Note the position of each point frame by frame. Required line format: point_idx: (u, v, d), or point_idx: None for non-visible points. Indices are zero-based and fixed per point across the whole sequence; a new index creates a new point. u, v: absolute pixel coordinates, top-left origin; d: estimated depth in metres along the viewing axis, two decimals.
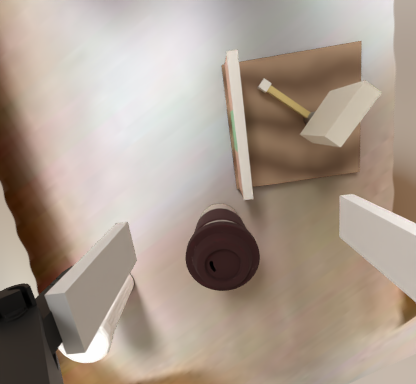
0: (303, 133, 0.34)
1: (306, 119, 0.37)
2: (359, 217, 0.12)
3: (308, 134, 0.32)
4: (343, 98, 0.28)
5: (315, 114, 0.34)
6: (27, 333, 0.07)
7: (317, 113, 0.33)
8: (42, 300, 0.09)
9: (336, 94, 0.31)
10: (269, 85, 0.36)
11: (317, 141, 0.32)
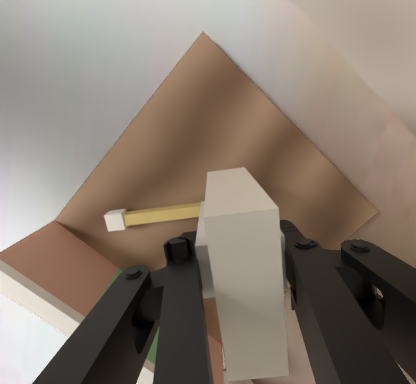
0: None
1: None
2: None
3: None
4: None
5: None
6: (188, 277, 0.08)
7: None
8: None
9: None
10: (120, 218, 0.19)
11: None
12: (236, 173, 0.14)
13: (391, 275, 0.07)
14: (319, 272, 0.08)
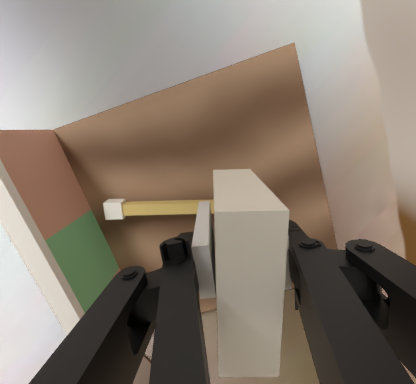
0: None
1: None
2: None
3: None
4: None
5: (214, 227, 0.16)
6: (184, 278, 0.08)
7: None
8: None
9: None
10: (119, 208, 0.19)
11: None
12: (242, 174, 0.14)
13: (396, 275, 0.07)
14: (323, 272, 0.08)
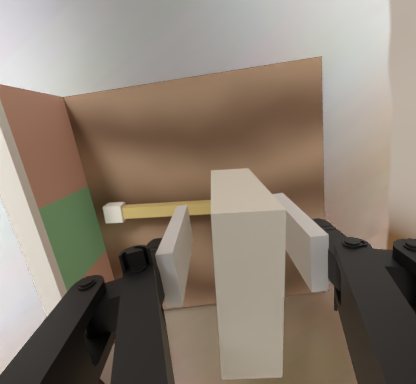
0: None
1: None
2: None
3: None
4: None
5: None
6: (146, 286, 0.08)
7: None
8: None
9: None
10: (119, 211, 0.19)
11: None
12: (240, 173, 0.14)
13: None
14: (368, 273, 0.07)
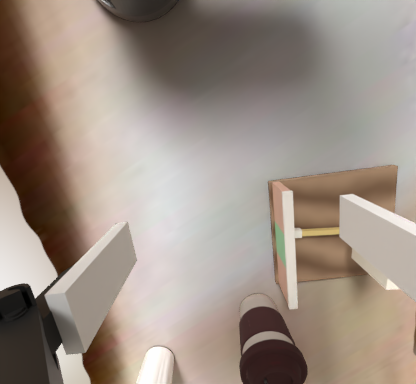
0: (355, 260, 0.38)
1: None
2: (359, 217, 0.12)
3: (363, 267, 0.36)
4: None
5: None
6: (27, 333, 0.07)
7: None
8: (42, 300, 0.09)
9: None
10: (301, 232, 0.41)
11: None
12: None
13: None
14: None
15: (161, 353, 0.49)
